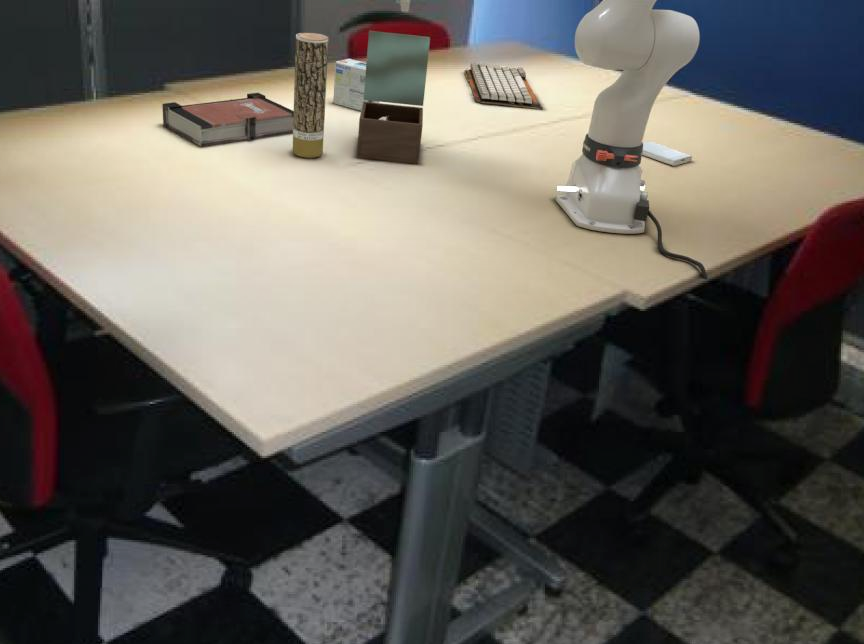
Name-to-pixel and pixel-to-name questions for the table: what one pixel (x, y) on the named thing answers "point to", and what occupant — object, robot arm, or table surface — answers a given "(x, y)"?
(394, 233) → the table surface
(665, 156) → the hard drive
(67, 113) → the table surface
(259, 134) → the book
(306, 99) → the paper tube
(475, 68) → the mechanical keyboard
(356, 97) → the light bulb box
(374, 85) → the pale blue slab
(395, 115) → the case
